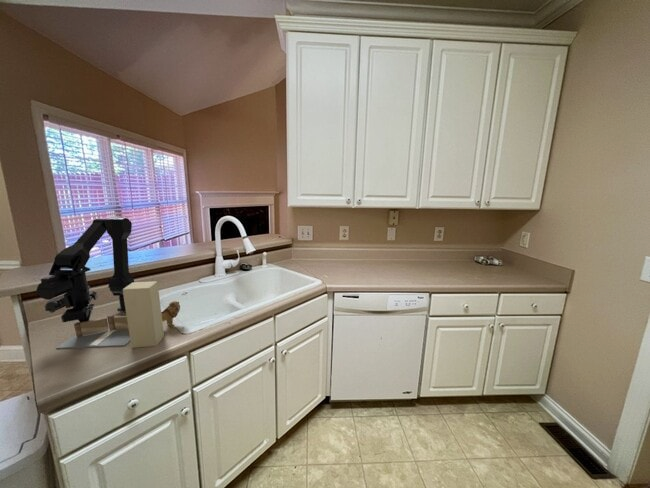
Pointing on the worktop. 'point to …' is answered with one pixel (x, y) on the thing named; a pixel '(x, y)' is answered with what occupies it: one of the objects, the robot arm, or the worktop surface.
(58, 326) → the worktop surface
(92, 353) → the worktop surface
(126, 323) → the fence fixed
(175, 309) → the lion figurine
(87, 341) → the board
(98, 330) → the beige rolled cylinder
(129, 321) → the toy refrigerator
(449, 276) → the worktop surface
